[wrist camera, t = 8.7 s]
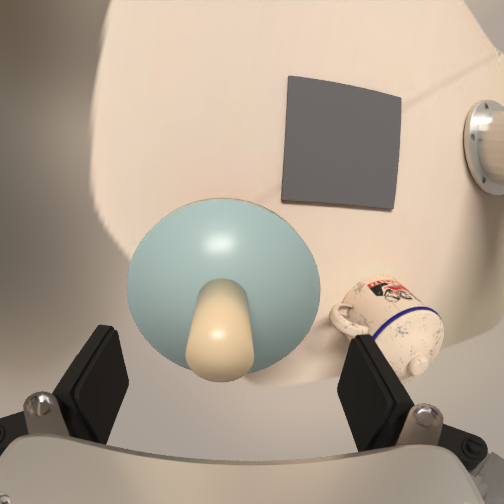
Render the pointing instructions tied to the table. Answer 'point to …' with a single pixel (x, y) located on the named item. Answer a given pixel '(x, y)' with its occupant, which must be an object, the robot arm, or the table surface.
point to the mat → (340, 144)
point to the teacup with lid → (391, 324)
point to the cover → (223, 288)
